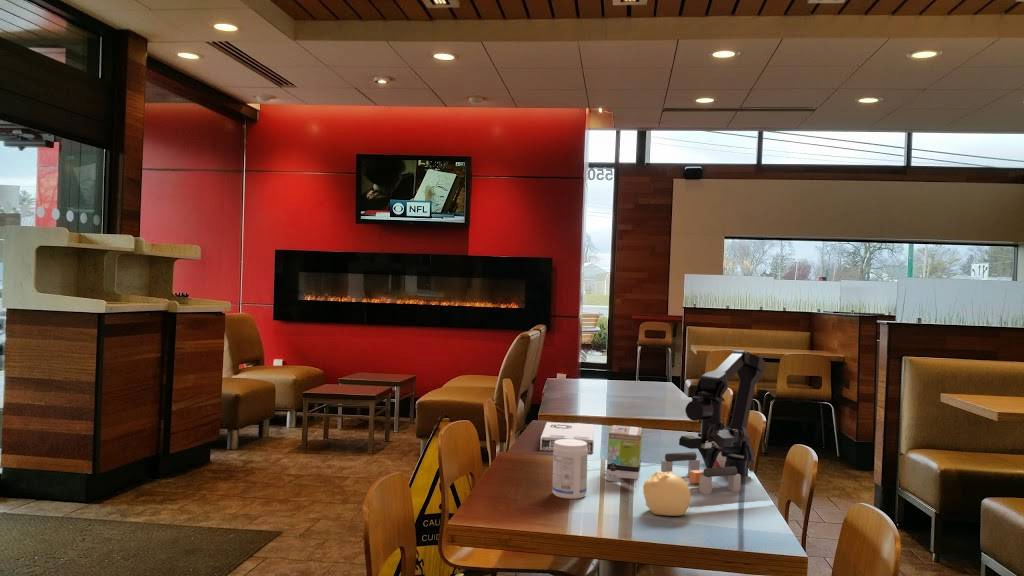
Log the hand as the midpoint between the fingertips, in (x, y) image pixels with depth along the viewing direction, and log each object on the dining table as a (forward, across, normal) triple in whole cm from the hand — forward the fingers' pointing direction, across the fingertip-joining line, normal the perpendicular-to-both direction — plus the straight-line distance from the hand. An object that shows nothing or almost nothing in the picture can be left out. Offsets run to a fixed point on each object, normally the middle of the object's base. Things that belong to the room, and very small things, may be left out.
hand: (709, 469), depth 218 cm
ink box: (+5, +21, +22) cm, 31 cm away
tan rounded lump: (+5, -28, -19) cm, 34 cm away
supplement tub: (+5, -45, +3) cm, 45 cm away
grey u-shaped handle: (+5, -4, +10) cm, 11 cm away
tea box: (+5, -19, +17) cm, 26 cm away
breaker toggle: (+4, -4, 0) cm, 6 cm away
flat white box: (+6, -13, +67) cm, 69 cm away
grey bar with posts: (+5, -4, -10) cm, 11 cm away
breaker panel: (+5, -6, 0) cm, 8 cm away
